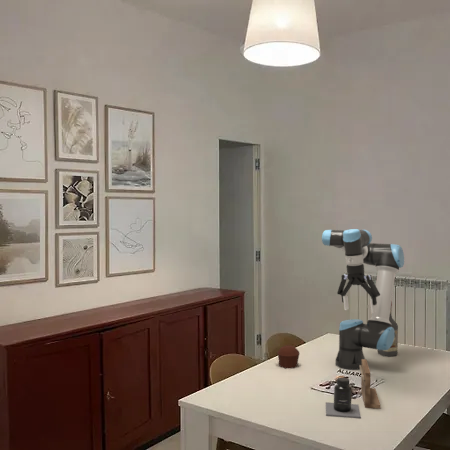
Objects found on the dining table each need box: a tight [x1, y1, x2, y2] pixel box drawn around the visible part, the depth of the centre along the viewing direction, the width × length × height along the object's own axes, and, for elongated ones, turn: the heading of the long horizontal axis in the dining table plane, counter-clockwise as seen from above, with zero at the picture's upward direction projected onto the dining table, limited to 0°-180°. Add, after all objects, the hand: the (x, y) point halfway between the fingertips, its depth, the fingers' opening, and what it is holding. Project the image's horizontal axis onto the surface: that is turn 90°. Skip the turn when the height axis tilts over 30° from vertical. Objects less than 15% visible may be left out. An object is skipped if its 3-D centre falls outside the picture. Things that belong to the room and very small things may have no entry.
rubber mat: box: [325, 401, 362, 419], centre depth 211 cm, size 13×13×1 cm
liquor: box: [377, 301, 399, 358], centre depth 293 cm, size 9×9×30 cm
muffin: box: [276, 345, 300, 369], centre depth 271 cm, size 12×11×10 cm
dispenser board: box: [359, 358, 381, 409], centre depth 224 cm, size 7×20×14 cm, turn 170°
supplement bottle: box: [333, 377, 353, 412], centre depth 211 cm, size 7×7×12 cm
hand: (360, 310), depth 239 cm, fingers open, 13 cm apart
